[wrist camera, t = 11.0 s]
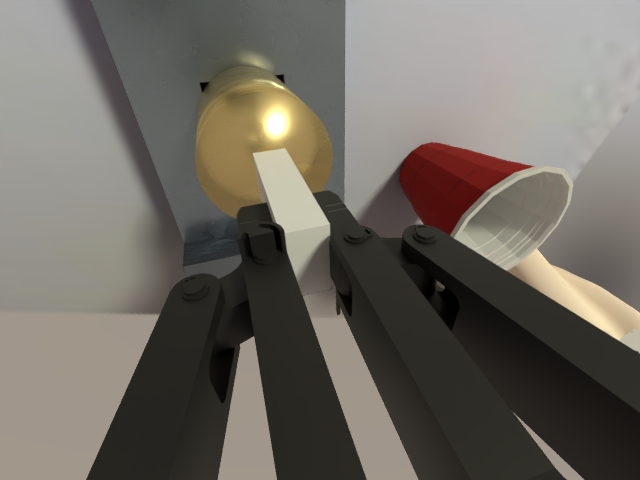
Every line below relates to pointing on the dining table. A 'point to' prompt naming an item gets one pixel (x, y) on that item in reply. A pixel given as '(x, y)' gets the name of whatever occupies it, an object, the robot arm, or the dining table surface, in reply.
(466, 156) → the plastic cup
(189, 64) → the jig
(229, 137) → the golden knob
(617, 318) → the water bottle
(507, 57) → the dining table surface
